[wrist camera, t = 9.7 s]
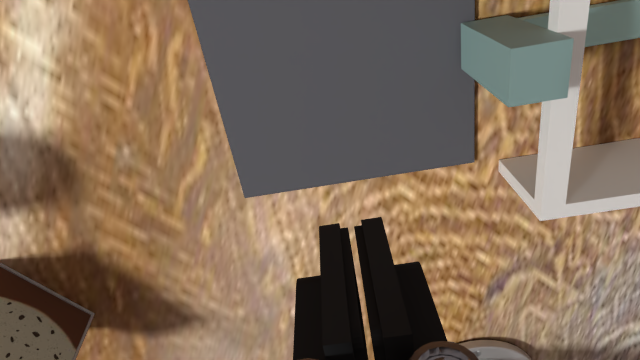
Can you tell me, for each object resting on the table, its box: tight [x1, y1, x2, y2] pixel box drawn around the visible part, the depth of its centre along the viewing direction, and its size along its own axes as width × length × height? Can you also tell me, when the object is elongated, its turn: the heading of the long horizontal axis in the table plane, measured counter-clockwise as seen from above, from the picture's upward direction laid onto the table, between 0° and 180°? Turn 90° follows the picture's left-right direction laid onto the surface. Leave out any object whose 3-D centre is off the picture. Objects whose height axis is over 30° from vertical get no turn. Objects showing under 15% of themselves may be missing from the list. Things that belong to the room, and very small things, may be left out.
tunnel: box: [499, 0, 640, 221], centre depth 26 cm, size 21×12×7 cm, turn 9°
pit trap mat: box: [188, 0, 475, 198], centre depth 30 cm, size 18×18×1 cm
